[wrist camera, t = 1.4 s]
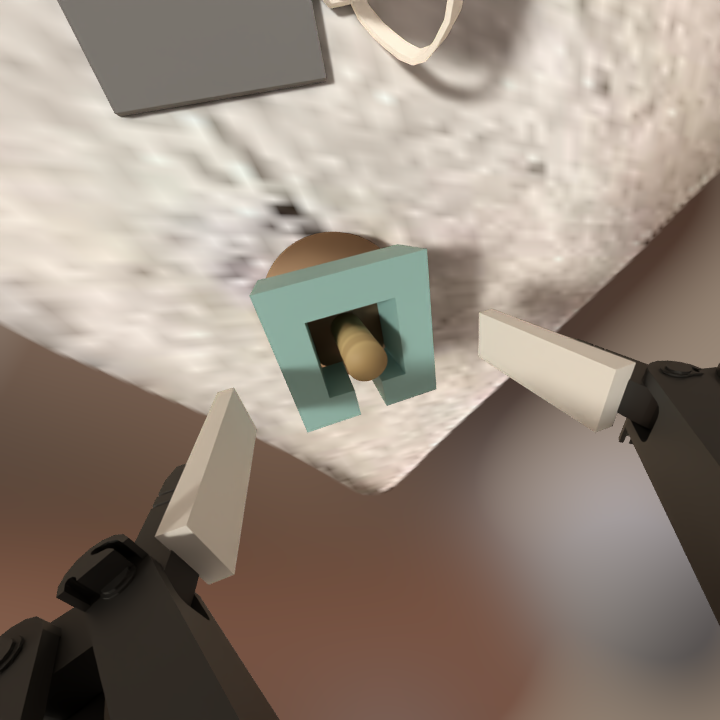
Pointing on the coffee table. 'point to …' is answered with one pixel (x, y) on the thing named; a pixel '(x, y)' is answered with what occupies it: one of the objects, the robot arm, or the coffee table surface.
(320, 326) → the stand
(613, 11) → the coffee table surface
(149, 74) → the mat
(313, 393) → the link
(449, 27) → the cup
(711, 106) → the coffee table surface
